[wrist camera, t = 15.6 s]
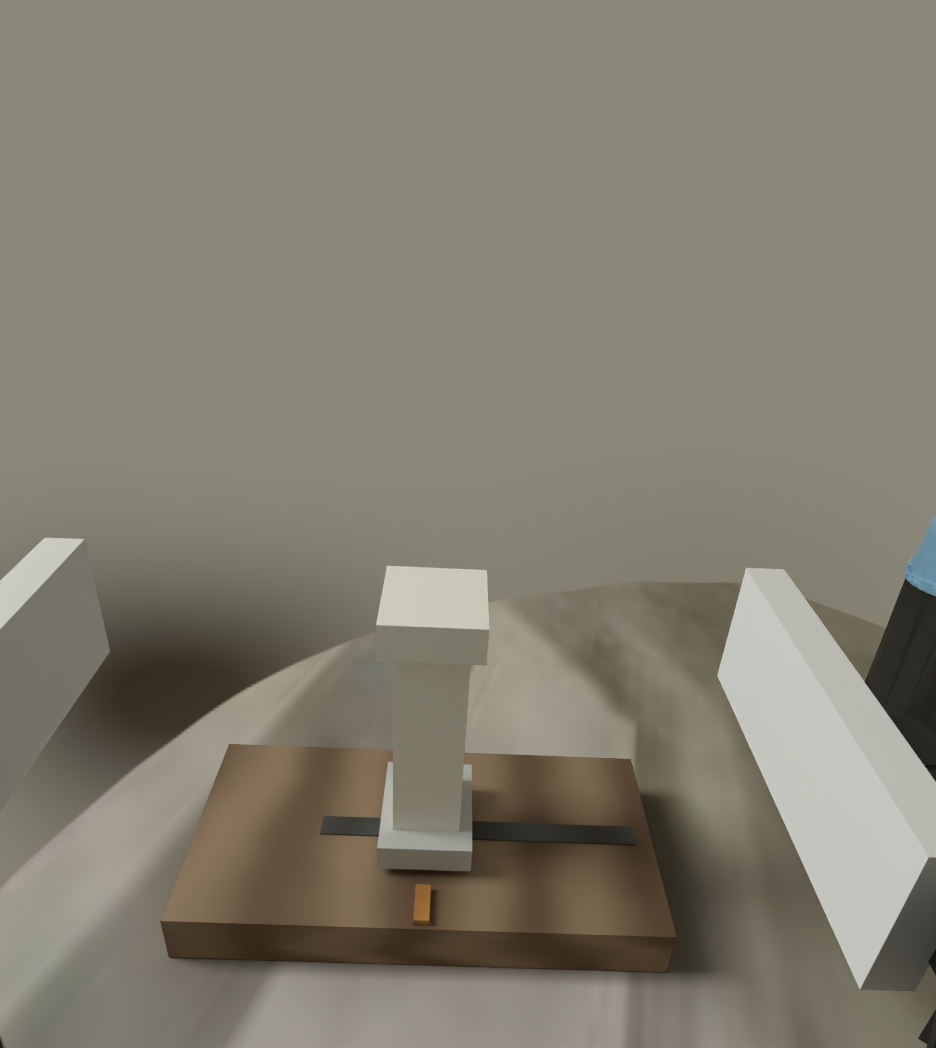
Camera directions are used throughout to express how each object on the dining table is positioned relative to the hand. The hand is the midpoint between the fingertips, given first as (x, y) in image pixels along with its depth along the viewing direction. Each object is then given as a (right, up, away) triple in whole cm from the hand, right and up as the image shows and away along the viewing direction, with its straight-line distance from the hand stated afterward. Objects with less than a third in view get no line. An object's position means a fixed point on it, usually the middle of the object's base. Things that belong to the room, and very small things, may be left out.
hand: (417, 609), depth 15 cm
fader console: (-2, -18, +29) cm, 34 cm away
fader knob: (-1, -15, +27) cm, 31 cm away
